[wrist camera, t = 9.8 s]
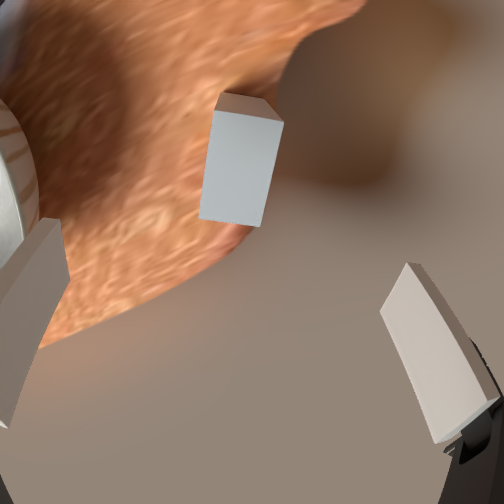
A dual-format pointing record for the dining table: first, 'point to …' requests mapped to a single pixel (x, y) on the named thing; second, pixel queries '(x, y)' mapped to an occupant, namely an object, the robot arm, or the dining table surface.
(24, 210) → the decorative bowl
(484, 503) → the robot arm
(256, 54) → the dining table surface
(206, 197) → the stub
